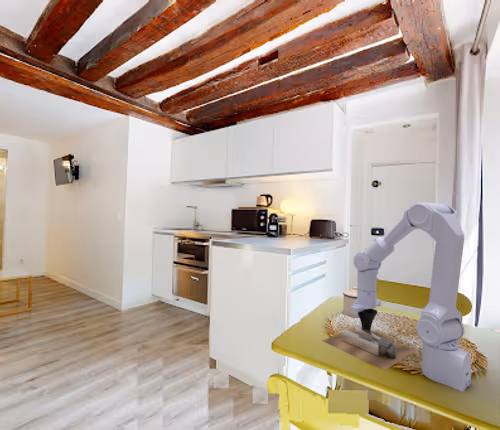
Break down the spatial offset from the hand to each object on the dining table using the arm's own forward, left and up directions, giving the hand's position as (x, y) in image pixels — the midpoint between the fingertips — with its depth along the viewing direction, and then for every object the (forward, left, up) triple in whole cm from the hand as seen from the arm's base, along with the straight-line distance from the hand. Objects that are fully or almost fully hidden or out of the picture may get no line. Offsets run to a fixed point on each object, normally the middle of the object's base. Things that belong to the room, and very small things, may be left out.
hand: (366, 331), depth 87 cm
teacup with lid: (+16, -19, -3) cm, 25 cm away
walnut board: (-3, +5, -3) cm, 6 cm away
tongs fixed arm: (-4, +7, -2) cm, 8 cm away
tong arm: (-5, +3, -2) cm, 6 cm away
